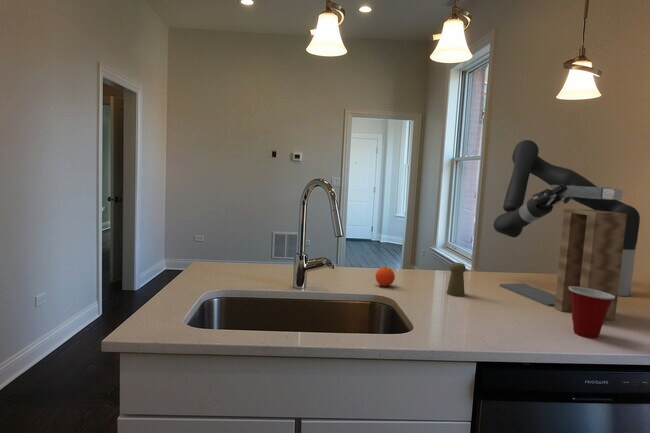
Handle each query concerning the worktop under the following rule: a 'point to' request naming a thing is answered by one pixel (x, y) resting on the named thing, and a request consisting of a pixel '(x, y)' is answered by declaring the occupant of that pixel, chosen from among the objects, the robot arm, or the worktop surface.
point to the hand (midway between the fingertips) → (569, 186)
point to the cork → (456, 280)
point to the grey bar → (591, 192)
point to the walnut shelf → (590, 255)
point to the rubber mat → (532, 293)
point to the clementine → (385, 276)
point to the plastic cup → (589, 310)
